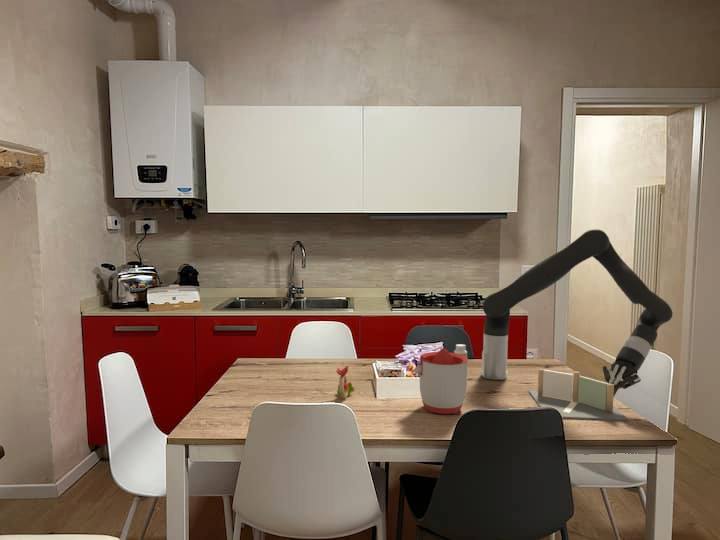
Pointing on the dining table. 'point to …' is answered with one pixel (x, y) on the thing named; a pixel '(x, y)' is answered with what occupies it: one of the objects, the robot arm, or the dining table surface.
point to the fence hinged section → (596, 393)
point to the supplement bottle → (461, 349)
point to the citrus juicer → (442, 381)
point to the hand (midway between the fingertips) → (608, 395)
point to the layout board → (577, 409)
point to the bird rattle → (344, 384)
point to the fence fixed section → (558, 384)
